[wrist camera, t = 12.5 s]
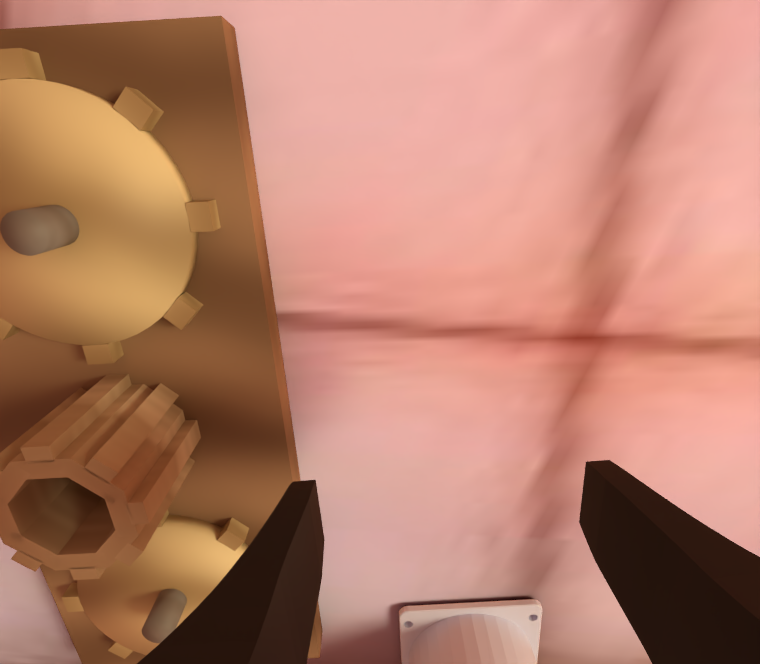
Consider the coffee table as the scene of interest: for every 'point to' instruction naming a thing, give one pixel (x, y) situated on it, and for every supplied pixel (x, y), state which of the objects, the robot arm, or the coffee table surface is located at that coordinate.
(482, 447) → the coffee table surface
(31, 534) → the maple gear
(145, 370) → the gear board
